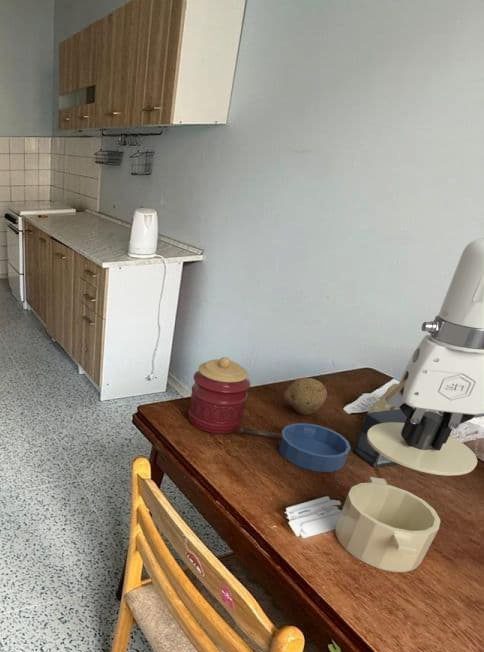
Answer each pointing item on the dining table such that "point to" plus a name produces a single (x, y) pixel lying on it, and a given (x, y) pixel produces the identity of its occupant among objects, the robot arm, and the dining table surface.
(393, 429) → the lid
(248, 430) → the pan handle
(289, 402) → the brown lumpy rounded lump
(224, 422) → the kitchen canister
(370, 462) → the small box
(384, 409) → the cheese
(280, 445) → the pan
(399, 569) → the pot
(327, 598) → the dining table surface
